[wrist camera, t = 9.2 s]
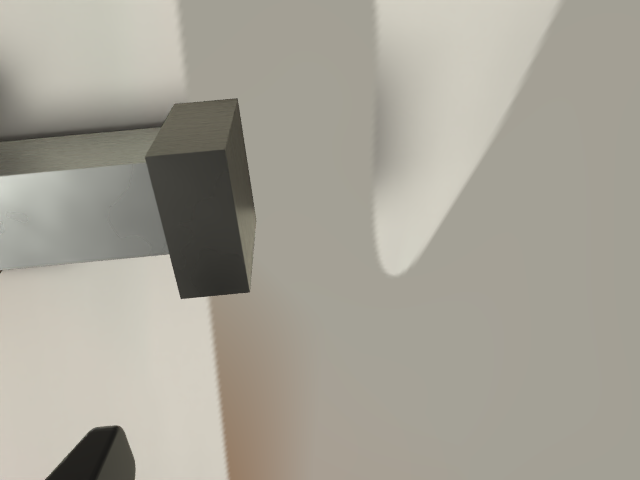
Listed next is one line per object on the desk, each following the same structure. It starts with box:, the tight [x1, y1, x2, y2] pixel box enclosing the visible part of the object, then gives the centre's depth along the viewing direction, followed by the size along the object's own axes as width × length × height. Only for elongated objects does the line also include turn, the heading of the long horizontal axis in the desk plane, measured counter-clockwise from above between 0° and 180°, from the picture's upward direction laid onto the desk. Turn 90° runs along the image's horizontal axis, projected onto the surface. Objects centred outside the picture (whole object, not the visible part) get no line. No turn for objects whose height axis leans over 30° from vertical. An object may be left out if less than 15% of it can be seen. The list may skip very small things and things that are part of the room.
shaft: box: [0, 99, 256, 299], centre depth 17 cm, size 4×11×4 cm, turn 95°
